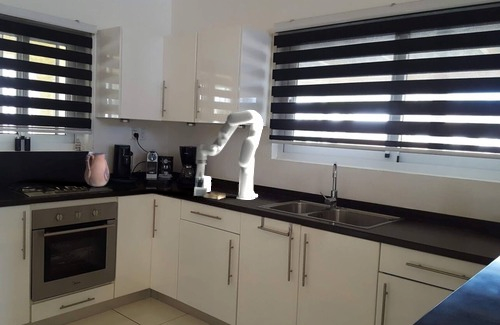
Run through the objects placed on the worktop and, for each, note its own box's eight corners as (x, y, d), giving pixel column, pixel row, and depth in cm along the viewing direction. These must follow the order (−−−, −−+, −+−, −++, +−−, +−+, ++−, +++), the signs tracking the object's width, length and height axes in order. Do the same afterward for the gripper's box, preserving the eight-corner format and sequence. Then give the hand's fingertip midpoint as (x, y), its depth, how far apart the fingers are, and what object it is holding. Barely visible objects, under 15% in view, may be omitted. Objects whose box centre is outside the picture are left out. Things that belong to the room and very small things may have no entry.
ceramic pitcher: (113, 184, 317) (113, 152, 315) (100, 188, 296) (100, 154, 294) (91, 183, 319) (91, 151, 317) (77, 187, 298) (77, 153, 296)
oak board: (225, 197, 284) (225, 193, 284) (218, 199, 275) (218, 195, 275) (211, 195, 289) (212, 191, 288) (204, 197, 280) (204, 193, 279)
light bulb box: (194, 189, 309) (195, 175, 308) (201, 189, 313) (202, 175, 312) (203, 192, 301) (204, 177, 300) (210, 191, 306) (211, 176, 305)
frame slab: (207, 195, 289) (207, 187, 288) (207, 196, 285) (207, 188, 285) (194, 194, 288) (194, 187, 288) (194, 195, 285) (194, 187, 284)
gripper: (196, 160, 293) (195, 183, 295) (195, 162, 276) (193, 187, 277) (207, 160, 293) (205, 184, 295) (206, 163, 276) (204, 188, 278)
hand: (199, 186), depth 286 cm, fingers open, 9 cm apart
